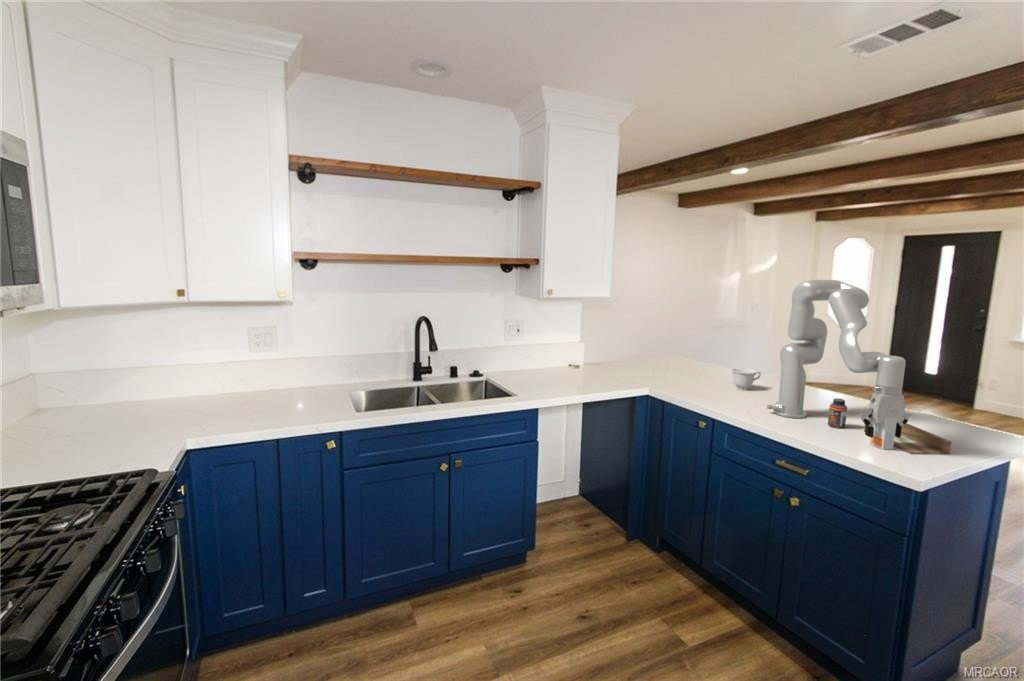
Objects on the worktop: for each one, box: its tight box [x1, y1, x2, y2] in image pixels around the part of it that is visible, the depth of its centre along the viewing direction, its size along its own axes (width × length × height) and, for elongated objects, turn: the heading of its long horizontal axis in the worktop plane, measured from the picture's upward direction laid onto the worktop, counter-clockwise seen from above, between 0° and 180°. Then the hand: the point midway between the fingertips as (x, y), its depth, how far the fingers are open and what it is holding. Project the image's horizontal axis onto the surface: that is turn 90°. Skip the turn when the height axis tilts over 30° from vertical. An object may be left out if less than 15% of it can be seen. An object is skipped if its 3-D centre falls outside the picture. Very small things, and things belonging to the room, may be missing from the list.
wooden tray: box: [863, 422, 953, 455], centre depth 178 cm, size 14×23×5 cm, turn 179°
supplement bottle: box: [827, 398, 848, 429], centre depth 195 cm, size 6×6×11 cm
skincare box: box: [869, 417, 897, 450], centre depth 173 cm, size 6×4×12 cm
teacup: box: [731, 367, 762, 391], centre depth 254 cm, size 12×15×10 cm
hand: (882, 436), depth 174 cm, fingers open, 9 cm apart
